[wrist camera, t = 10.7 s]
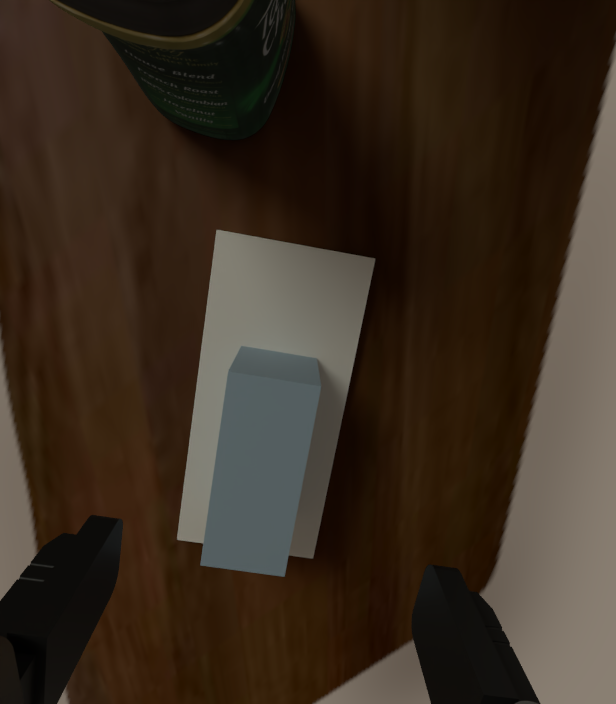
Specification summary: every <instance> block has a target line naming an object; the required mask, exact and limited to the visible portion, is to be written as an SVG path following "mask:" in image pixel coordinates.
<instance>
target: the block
mask: <svg viewBox="0 0 616 704" xmlns="http://www.w3.org/2000/svg"><path fill="white" fill-rule="evenodd" d="M320 391H321V381H320V375H319V369H318V363H317V358H312V357H306V356H300V355H294V354H288V353H282V352H276V351H270V350H264V349H258V348H252V347H246V346H241V347H240V349H239V351H238V353H237V355H236V357H235V359H234V361H233V363H232V365H231V367H230V369H229V371H228V376H227V383H226V390H225V397H224V404H223V411H222V418H221V424H220V431H219V438H218V445H217V452H216V459H215V466H214V473H213V480H212V487H211V494H210V501H209V508H208V515H207V522H206V529H205V536H204V543H203V550H202V557H201V564H200V565H202V566H210V567H217V568H224V569H232V570H239V571H246V572H254V573H261V574H268V575H275V576H283V577H285V572H286V567H287V561H288V556H289V551H290V546H291V541H292V535H293V530H294V525H295V520H296V515H297V510H298V504H299V499H300V494H301V489H302V484H303V479H304V473H305V468H306V463H307V458H308V453H309V448H310V442H311V437H312V432H313V427H314V422H315V417H316V411H317V406H318V401H319V396H320Z"/></svg>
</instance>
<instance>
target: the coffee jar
mask: <svg viewBox="0 0 616 704" xmlns="http://www.w3.org/2000/svg"><path fill="white" fill-rule="evenodd" d="M49 1H51V2H52V3H54V4H55V5H56V6H58V7H59V8H61V9H62V10H64V11H65V12H67V13H68V14H70V15H72V16H74V17H75V18H77V19H79V20H81V21H83V22H84V23H86V24H88V25H90V26H92V27H94V28H96V29H99V30H101V31H102V32H103V33H104V35H105V36H106V38H107V39H108V40H109V42H110V43H111V44H112V46H113V47H114V49H115V50H116V51H117V53H118V54H119V56H120V57H121V58H122V60H123V61H124V63H125V64H126V66H127V67H128V69H129V70H130V72H131V73H132V75H133V76H134V78H135V80H136V81H137V83H138V84H139V86H140V87H141V89H142V90H143V92H144V93H145V95H146V96H147V97H148V99H149V100H150V101H151V103H152V104H153V105H154V106H155V107H156V109H157V110H158V111H159V112H160V113H161V114H162V115H163V116H165V117H166V118H167V119H169V120H170V121H172V122H174V123H175V124H177V125H179V126H181V127H183V128H186V129H189V130H191V131H194V132H196V133H199V134H202V135H206V136H209V137H213V138H217V139H224V140H239V139H244V138H247V137H249V136H251V135H253V134H255V133H256V132H257V131H258V130H260V129H261V128H262V127H263V126H264V124H265V123H266V121H267V120H268V118H269V116H270V114H271V112H272V109H273V107H274V104H275V102H276V100H277V97H278V94H279V91H280V88H281V86H282V83H283V79H284V75H285V72H286V68H287V64H288V60H289V56H290V51H291V46H292V40H293V33H294V26H295V14H296V12H295V0H49Z"/></svg>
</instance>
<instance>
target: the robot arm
mask: <svg viewBox="0 0 616 704" xmlns="http://www.w3.org/2000/svg"><path fill="white" fill-rule="evenodd" d="M122 529H123V522H122V519H117V518H110V517H103V516H96V515H91V516H90V517H89V518H88V519H87V521H86V522H85V524H84V525H83V526H82V528H81V529H80V531H79V532H78V533H77V535H74V534H67V533H63V534H61V535H60V536H58V537H57V538H55V539H53V540H52V541H50V542H49V543H47V544H46V545H44V546H43V547H42V549H41V550H40V551H39V553H38V554H37V555H36V556H35V558H34V559H33V560H32V561H31V564H30V566H28V567H27V568H26V569H25V570H24V572H23V573H22V574H21V575H20V578H19V580H16V582H15V583H14V584H13V586H12V587H11V588H10V589H9V591H8V592H7V593H6V594H5V596H4V597H3V598H2V599H1V601H0V704H57V703H58V701H59V699H60V697H61V695H62V693H63V691H64V689H65V687H66V685H67V683H68V681H69V679H70V677H71V675H72V673H73V671H74V669H75V667H76V665H77V663H78V661H79V659H80V657H81V655H82V653H83V651H84V649H85V647H86V645H87V643H88V641H89V639H90V637H91V635H92V633H93V631H94V629H95V627H96V625H97V623H98V621H99V619H100V617H101V615H102V613H103V611H104V609H105V607H106V605H107V603H108V601H109V599H110V597H111V595H112V593H113V590H114V587H115V584H116V580H117V576H118V571H119V561H120V551H121V540H122ZM412 635H413V640H414V643H415V647H416V650H417V654H418V657H419V661H420V665H421V668H422V672H423V676H424V679H425V683H426V686H427V690H428V694H429V697H430V701H431V704H540V702H539V700H538V698H537V697H536V694H535V692H534V690H533V688H532V686H531V684H530V682H529V680H528V678H527V676H526V674H525V672H524V670H523V668H522V666H521V664H520V662H519V660H518V658H517V657H516V655H515V653H514V651H513V649H512V647H510V643H509V640H508V639H507V637H506V635H505V633H504V631H502V627H501V625H500V623H499V621H498V619H497V617H496V615H495V613H494V611H493V609H492V608H491V607H490V606H489V605H488V604H487V603H486V601H485V600H484V599H483V598H482V597H481V596H480V595H479V594H478V593H477V592H471V591H469V590H468V588H467V586H466V583H465V581H464V579H463V577H462V575H461V573H460V571H459V570H458V569H457V568H450V567H443V566H437V565H428V566H427V567H426V569H425V572H424V575H423V579H422V582H421V585H420V589H419V592H418V595H417V599H416V602H415V606H414V609H413V614H412Z"/></svg>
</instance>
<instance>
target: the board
mask: <svg viewBox="0 0 616 704" xmlns="http://www.w3.org/2000/svg"><path fill="white" fill-rule="evenodd" d="M374 263H375V258H370V257H364V256H359V255H353V254H348V253H342V252H337V251H331V250H326V249H320V248H315V247H309V246H304V245H298V244H293V243H287V242H282V241H276V240H271V239H265V238H260V237H254V236H249V235H244V234H238V233H233V232H227V231H222V230H217V231H216V239H215V247H214V255H213V262H212V270H211V278H210V286H209V293H208V301H207V309H206V317H205V325H204V332H203V340H202V348H201V356H200V364H199V371H198V379H197V387H196V395H195V403H194V410H193V418H192V426H191V434H190V441H189V449H188V457H187V465H186V473H185V480H184V488H183V496H182V504H181V512H180V519H179V527H178V535H177V540H183V541H190V542H197V543H204V536H205V529H206V522H207V515H208V508H209V501H210V494H211V487H212V480H213V473H214V466H215V459H216V452H217V445H218V438H219V431H220V424H221V418H222V411H223V404H224V397H225V390H226V383H227V376H228V371H229V369H230V367H231V365H232V363H233V361H234V359H235V357H236V355H237V353H238V351H239V349H240V347H241V346H246V347H252V348H258V349H264V350H270V351H276V352H282V353H288V354H294V355H300V356H306V357H312V358H317V363H318V369H319V375H320V381H321V391H320V396H319V401H318V406H317V411H316V417H315V422H314V427H313V432H312V437H311V442H310V448H309V453H308V458H307V463H306V468H305V473H304V479H303V484H302V489H301V494H300V499H299V504H298V510H297V515H296V520H295V525H294V530H293V535H292V541H291V546H290V551H289V555H290V556H297V557H305V558H312V559H313V557H314V552H315V547H316V542H317V537H318V533H319V528H320V523H321V518H322V513H323V509H324V504H325V499H326V494H327V489H328V485H329V480H330V475H331V470H332V465H333V460H334V456H335V451H336V446H337V441H338V436H339V432H340V427H341V422H342V417H343V412H344V408H345V403H346V398H347V393H348V388H349V384H350V379H351V374H352V369H353V364H354V360H355V355H356V350H357V345H358V340H359V336H360V331H361V326H362V321H363V316H364V311H365V307H366V302H367V297H368V292H369V287H370V283H371V278H372V273H373V268H374Z"/></svg>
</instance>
